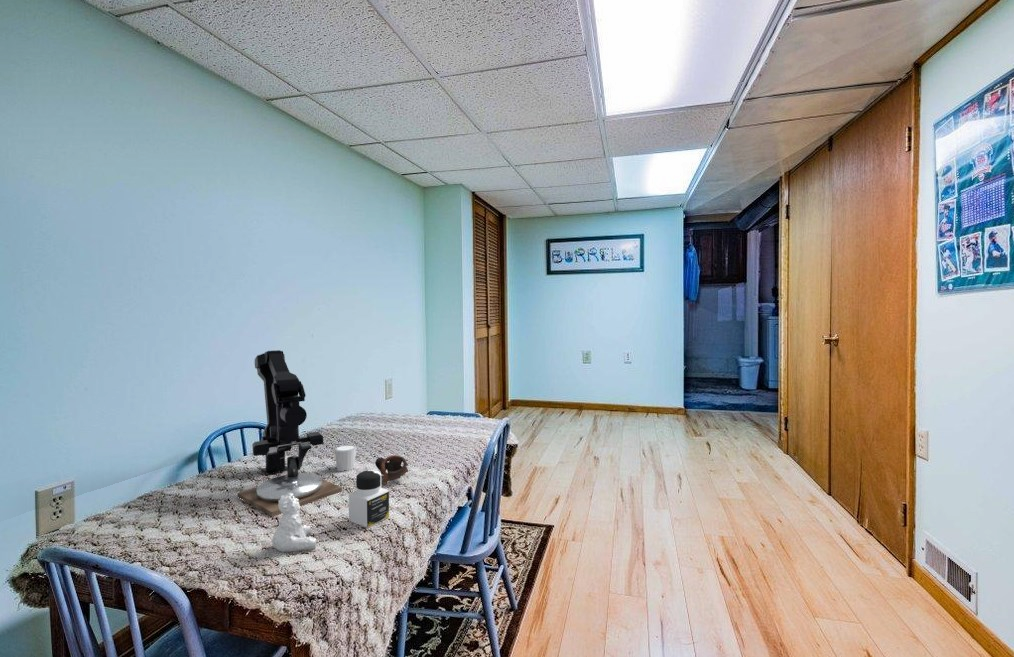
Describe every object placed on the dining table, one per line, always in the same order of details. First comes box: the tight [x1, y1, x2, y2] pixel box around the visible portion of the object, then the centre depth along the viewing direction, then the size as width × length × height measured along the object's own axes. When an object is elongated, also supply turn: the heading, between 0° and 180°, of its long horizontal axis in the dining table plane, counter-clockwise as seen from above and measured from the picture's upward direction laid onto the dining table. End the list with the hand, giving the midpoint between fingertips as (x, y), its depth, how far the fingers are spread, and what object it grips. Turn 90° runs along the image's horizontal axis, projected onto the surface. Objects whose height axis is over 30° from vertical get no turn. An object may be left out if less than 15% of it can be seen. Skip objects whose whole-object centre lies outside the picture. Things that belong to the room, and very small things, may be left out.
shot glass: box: [334, 444, 357, 472], centre depth 147 cm, size 7×7×7 cm
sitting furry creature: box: [271, 493, 317, 553], centre depth 98 cm, size 10×9×12 cm
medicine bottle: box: [348, 469, 390, 529], centre depth 111 cm, size 7×7×12 cm
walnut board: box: [236, 478, 343, 518], centre depth 126 cm, size 20×20×1 cm
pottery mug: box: [374, 454, 409, 485], centre depth 139 cm, size 12×10×8 cm
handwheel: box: [256, 455, 323, 502], centre depth 126 cm, size 17×17×7 cm
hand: (290, 471), depth 132 cm, fingers open, 5 cm apart
